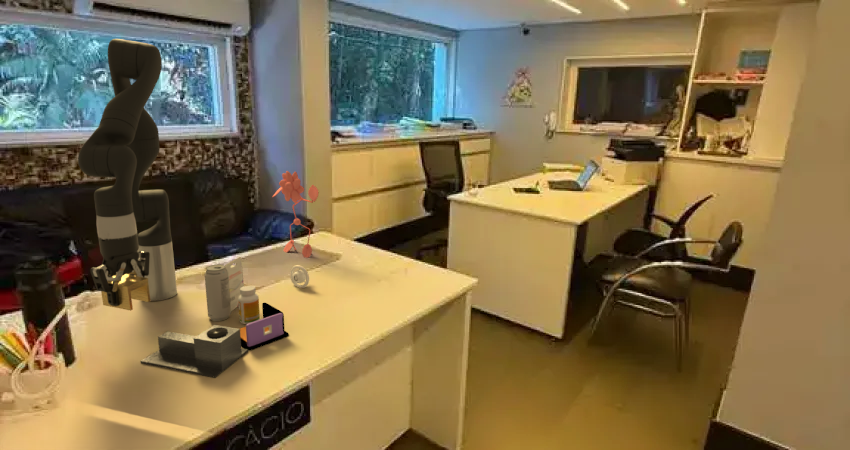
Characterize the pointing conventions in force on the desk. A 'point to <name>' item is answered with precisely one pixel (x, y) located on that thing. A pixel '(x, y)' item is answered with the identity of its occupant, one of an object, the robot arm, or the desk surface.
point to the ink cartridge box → (235, 281)
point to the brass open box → (130, 291)
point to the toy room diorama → (264, 329)
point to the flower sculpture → (293, 191)
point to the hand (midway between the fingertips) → (126, 299)
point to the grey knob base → (198, 351)
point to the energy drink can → (217, 292)
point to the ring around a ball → (299, 276)
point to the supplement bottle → (248, 305)
